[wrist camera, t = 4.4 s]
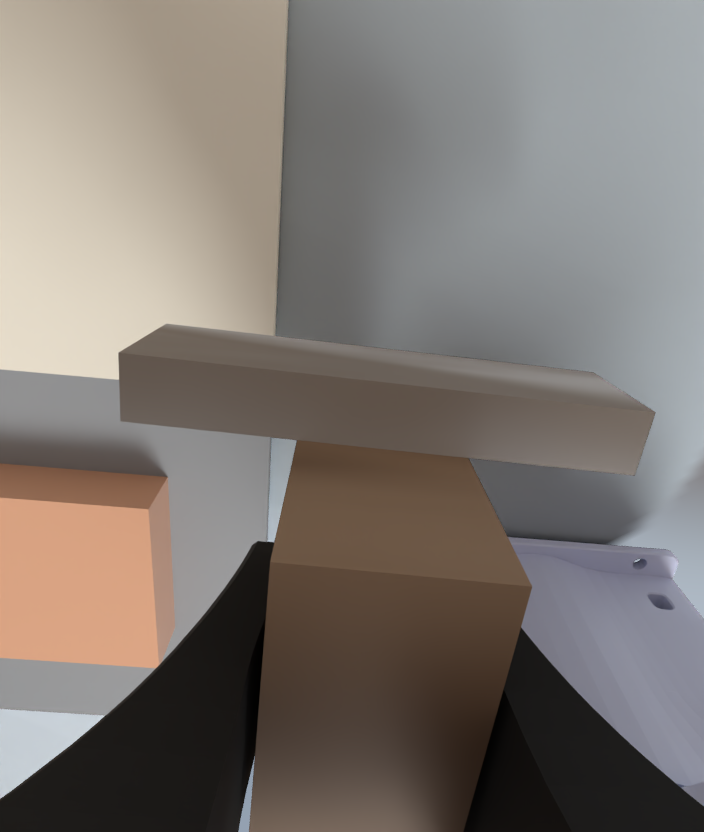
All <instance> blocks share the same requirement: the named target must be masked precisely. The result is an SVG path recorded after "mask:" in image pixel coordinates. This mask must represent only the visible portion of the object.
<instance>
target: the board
mask: <svg viewBox="0 0 704 832" xmlns="http://www.w3.org/2000/svg"><path fill="white" fill-rule="evenodd" d="M288 6H289V0H0V463H2V464H14V465H26V466H39V467H51V468H63V469H76V470H88V471H100V472H113V473H125V474H137V475H149V476H162V477H168V489H169V510H170V530H171V551H172V572H173V592H174V613H175V629H174V631H173V634H172V637H171V639H170V642H169V644H168V647H167V650H166V652H165V655H164V657H163V660H164V659H165V658H166V657H167V656H168V655H169V654H170V653H171V652H172V651H173V650H174V649H175V648H176V646H177V645H178V644H179V643H180V642H181V641H182V640H183V638H184V637H185V636H186V635H187V634H188V633H189V631H190V630H191V629H192V628H193V627H194V626H195V625H196V623H197V622H198V621H199V620H200V619H201V618H202V616H203V615H204V614H205V613H206V611H207V610H208V609H209V608H210V606H211V605H212V604H213V602H214V601H215V600H216V598H217V597H218V596H219V595H220V593H221V592H222V591H223V589H224V588H225V587H226V585H227V584H228V582H229V581H230V580H231V578H232V577H233V575H234V574H235V572H236V571H237V569H238V568H239V566H240V565H241V563H242V562H243V560H244V558H245V557H246V555H247V553H248V551H249V550H250V548H251V546H252V545H253V544H254V543H256V542H257V541H263V542H267V533H268V508H269V483H270V458H271V437H263V436H254V435H244V434H235V433H225V432H216V431H206V430H197V429H187V428H178V427H168V426H159V425H149V424H140V423H130V422H121V421H120V391H119V359H118V353H119V352H120V351H122V350H123V349H125V348H127V347H128V346H130V345H132V344H133V343H135V342H137V341H138V340H140V339H142V338H143V337H145V336H147V335H148V334H150V333H152V332H153V331H155V330H157V329H158V328H160V327H162V326H163V325H165V324H175V325H184V326H192V327H201V328H210V329H219V330H227V331H236V332H245V333H253V334H262V335H271V336H275V332H276V307H277V282H278V257H279V232H280V207H281V181H282V156H283V131H284V106H285V81H286V56H287V31H288ZM163 660H162V661H163ZM155 669H156V668H145V667H130V666H115V665H100V664H85V663H70V662H55V661H40V660H25V659H10V658H0V709H11V710H27V711H42V712H58V713H74V714H90V715H107V714H108V713H109V712H110V711H111V710H112V709H114V708H115V707H116V706H117V705H118V704H119V703H120V702H121V701H122V700H124V699H125V698H126V697H127V696H128V695H129V694H130V693H131V692H132V691H133V690H134V689H135V688H136V687H137V686H138V685H140V684H141V683H142V682H143V681H144V680H145V679H146V678H147V677H148V676H149V675H150V674H151V673H152V672H153V671H154V670H155Z"/></svg>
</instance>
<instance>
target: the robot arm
mask: <svg viewBox="0 0 704 832" xmlns="http://www.w3.org/2000/svg"><path fill="white" fill-rule="evenodd" d="M508 539H509V541H510V543H511V545H512V547H513V549H514V551H515V553H516V555H517V557H518V559H519V561H520V563H521V565H522V567H523V569H524V571H525V573H526V575H527V577H528V579H529V581H530V583H531V585H532V590H531V593H530V597H529V600H528V604H527V607H526V611H525V615H524V618H523V622H522V625H521V629H520V632H519V636H518V639H517V643H516V647H515V650H514V654H513V657H512V661H511V664H510V668H509V671H508V675H507V679H506V682H505V686H504V689H503V693H502V696H501V700H500V703H499V707H498V711H497V714H496V718H495V721H494V725H493V728H492V732H491V735H490V739H489V743H488V746H487V750H486V753H485V757H484V760H483V764H482V767H481V771H480V775H479V778H478V782H477V785H476V789H475V792H474V796H473V799H472V803H471V807H470V810H469V814H468V817H467V821H466V824H465V828H464V831H463V832H704V618H703V617H702V616H701V615H700V614H699V612H698V611H697V610H696V609H695V607H694V606H693V605H692V603H691V602H690V601H689V600H688V598H687V597H686V596H685V594H684V593H683V592H682V591H681V589H680V588H679V587H678V586H677V585H676V583H675V582H674V581H673V577H674V574H675V572H676V569H677V567H678V559H677V557H676V556H675V555H674V554H673V553H672V552H671V551H669V550H666V549H654V548H641V547H628V546H615V545H603V544H590V543H577V542H565V541H552V540H539V539H527V538H514V537H508ZM273 547H274V542H263V541H257V542H256V543H254V544H253V545H252V546H251V548H250V550H249V551H248V553H247V555H246V557H245V558H244V560H243V562H242V563H241V565H240V566H239V568H238V569H237V571H236V572H235V574H234V575H233V577H232V578H231V580H230V581H229V582H228V584H227V585H226V587H225V588H224V589H223V591H222V592H221V593H220V595H219V596H218V597H217V598H216V600H215V601H214V602H213V604H212V605H211V606H210V608H209V609H208V610H207V611H206V613H205V614H204V615H203V616H202V618H201V619H200V620H199V621H198V622H197V623H196V625H195V626H194V627H193V628H192V629H191V630H190V631H189V633H188V634H187V635H186V636H185V637H184V638H183V640H182V641H181V642H180V643H179V644H178V645H177V646H176V648H175V649H174V650H173V651H172V652H171V653H170V654H169V655H168V656H167V657H166V658H165V659H164V660H163V661H162V663H161V664H160V665H159V666H158V667H157V668H156V669H155V670H154V671H153V672H152V673H151V674H150V675H149V676H148V677H147V678H146V679H145V680H144V681H143V682H142V683H141V684H140V685H138V686H137V687H136V688H135V689H134V690H133V691H132V692H131V693H130V694H129V695H128V696H127V697H126V698H125V699H124V700H122V701H121V702H120V703H119V704H118V705H117V706H116V707H115V708H114V709H112V710H111V711H110V712H109V713H108V714H107V715H106V716H105V717H103V718H102V719H101V720H100V721H99V722H98V723H97V724H96V725H94V726H93V727H92V728H91V729H90V730H89V731H87V732H86V733H85V734H84V735H83V736H81V737H80V738H79V739H78V740H77V741H75V742H74V743H73V744H72V745H70V746H69V747H68V748H67V749H65V750H64V751H63V752H61V753H60V754H59V755H58V756H56V757H55V758H54V759H52V760H51V761H50V762H48V763H47V764H46V765H45V766H43V767H42V768H41V769H39V770H38V771H37V772H36V773H34V774H33V775H32V776H30V777H29V778H28V779H26V780H25V781H24V782H23V783H21V784H20V785H19V786H17V787H16V788H15V789H14V790H12V791H11V792H9V793H8V794H7V795H5V796H4V797H2V798H1V799H0V832H238V830H239V823H240V818H241V813H242V808H243V803H244V798H245V793H246V789H247V785H248V781H249V777H250V772H251V768H252V764H253V760H254V756H255V749H256V737H257V724H258V711H259V698H260V686H261V673H262V660H263V647H264V635H265V622H266V609H267V596H268V584H269V571H270V561H271V556H272V552H273ZM637 559H640V561H638V562H635V563H634V561H635V560H637Z"/></svg>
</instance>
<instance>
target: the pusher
mask: <svg viewBox="0 0 704 832" xmlns="http://www.w3.org/2000/svg"><path fill="white" fill-rule="evenodd" d="M118 359H119V391H120V421H121V422H130V423H140V424H149V425H159V426H168V427H178V428H187V429H197V430H206V431H216V432H225V433H235V434H244V435H254V436H263V437H273V438H282V439H292V440H297V443H296V448H295V452H294V457H293V461H292V466H291V470H290V475H289V479H288V484H287V488H286V493H285V497H284V502H283V506H282V511H281V515H280V520H279V524H278V529H277V533H276V538H275V542H274V547H273V552H272V556H271V561H270V571H269V584H268V596H267V609H266V622H265V635H264V647H263V660H262V673H261V686H260V698H259V711H258V724H257V737H256V749H255V763H254V775H253V788H252V800H251V813H250V814H251V815H250V826H249V832H463V831H464V828H465V824H466V821H467V817H468V814H469V810H470V807H471V803H472V799H473V796H474V792H475V789H476V785H477V782H478V778H479V775H480V771H481V767H482V764H483V760H484V757H485V753H486V750H487V746H488V743H489V739H490V735H491V732H492V728H493V725H494V721H495V718H496V714H497V711H498V707H499V703H500V700H501V696H502V693H503V689H504V686H505V682H506V679H507V675H508V671H509V668H510V664H511V661H512V657H513V654H514V650H515V647H516V643H517V639H518V636H519V632H520V629H521V625H522V622H523V618H524V615H525V611H526V607H527V604H528V600H529V597H530V593H531V590H532V585H531V583H530V581H529V579H528V577H527V575H526V573H525V571H524V569H523V567H522V565H521V563H520V561H519V559H518V557H517V555H516V553H515V551H514V549H513V547H512V545H511V543H510V541H509V539H508V537H507V535H506V533H505V531H504V529H503V527H502V525H501V523H500V521H499V519H498V517H497V515H496V512H495V510H494V508H493V506H492V504H491V502H490V500H489V498H488V496H487V494H486V492H485V490H484V488H483V486H482V484H481V482H480V480H479V478H478V476H477V474H476V472H475V470H474V468H473V466H472V464H471V462H470V460H469V458H472V459H481V460H491V461H500V462H510V463H519V464H529V465H538V466H548V467H557V468H567V469H576V470H586V471H595V472H605V473H614V474H624V475H633V476H635V473H636V470H637V467H638V464H639V461H640V458H641V455H642V452H643V449H644V446H645V443H646V440H647V437H648V434H649V431H650V428H651V425H652V422H653V419H654V416H655V413H656V412H654V411H652V410H651V409H649V408H648V407H646V406H645V405H643V404H642V403H640V402H638V401H637V400H635V399H634V398H632V397H631V396H629V395H628V394H626V393H624V392H623V391H621V390H620V389H618V388H617V387H615V386H614V385H612V384H610V383H609V382H607V381H606V380H604V379H603V378H601V377H600V376H598V375H596V374H595V373H593V372H585V371H577V370H568V369H559V368H550V367H542V366H533V365H524V364H515V363H507V362H498V361H489V360H481V359H472V358H463V357H454V356H446V355H437V354H428V353H419V352H411V351H402V350H393V349H384V348H376V347H367V346H358V345H350V344H341V343H332V342H323V341H315V340H306V339H297V338H288V337H280V336H271V335H262V334H253V333H245V332H236V331H227V330H219V329H210V328H201V327H192V326H184V325H175V324H165V325H163V326H162V327H160V328H158V329H157V330H155V331H153V332H152V333H150V334H148V335H147V336H145V337H143V338H142V339H140V340H138V341H137V342H135V343H133V344H132V345H130V346H128V347H127V348H125V349H123V350H122V351H120V352H119V353H118Z"/></svg>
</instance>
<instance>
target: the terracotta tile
mask: <svg viewBox="0 0 704 832" xmlns="http://www.w3.org/2000/svg"><path fill="white" fill-rule="evenodd" d="M174 629H175V613H174V592H173V572H172V551H171V530H170V510H169V489H168V477H162V476H149V475H137V474H125V473H113V472H100V471H88V470H76V469H63V468H51V467H39V466H26V465H14V464H2V463H0V658H10V659H25V660H40V661H55V662H70V663H85V664H100V665H115V666H130V667H145V668H157V667H158V666H159V665H160V664H161V663H162V660H163V657H164V655H165V652H166V650H167V647H168V644H169V642H170V639H171V637H172V634H173V631H174Z"/></svg>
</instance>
